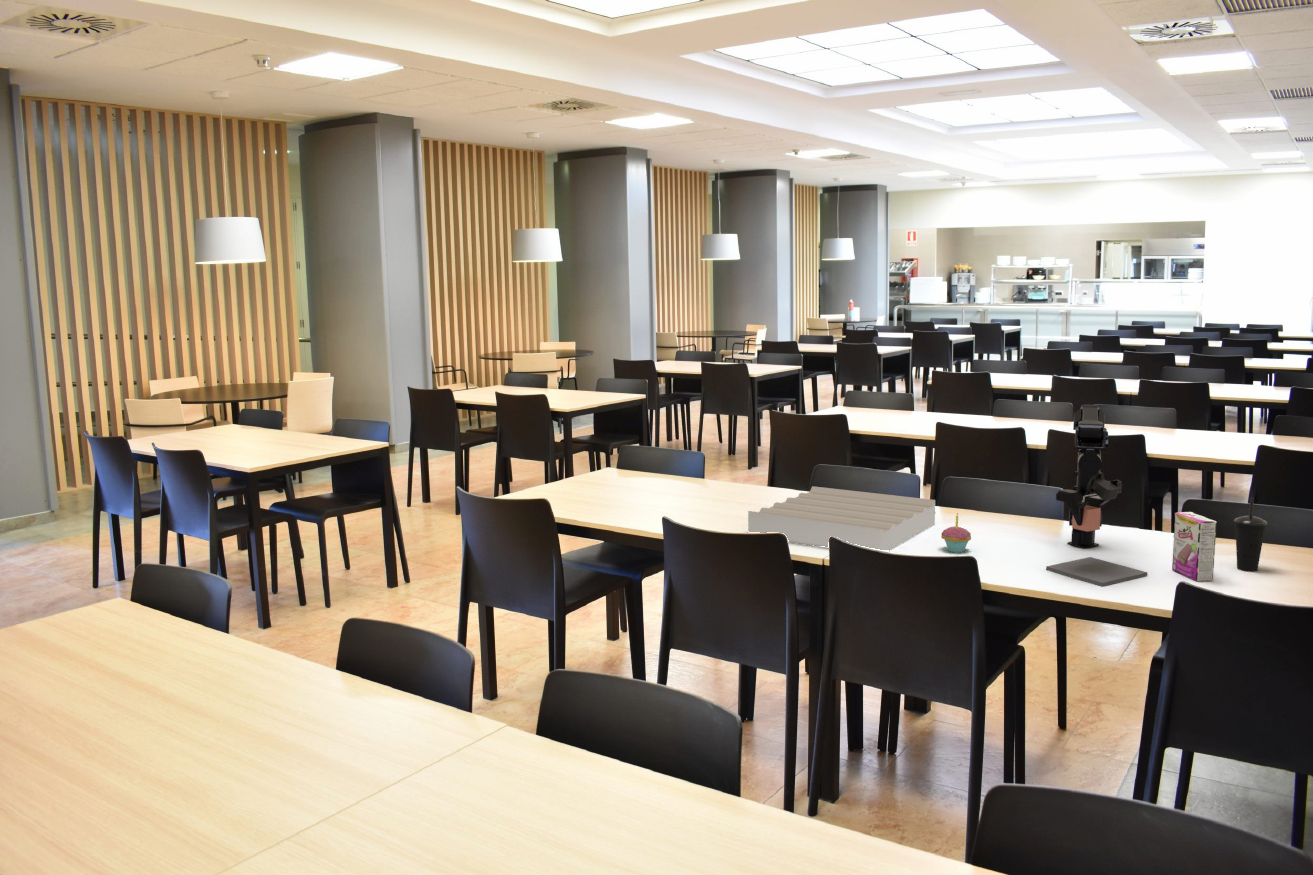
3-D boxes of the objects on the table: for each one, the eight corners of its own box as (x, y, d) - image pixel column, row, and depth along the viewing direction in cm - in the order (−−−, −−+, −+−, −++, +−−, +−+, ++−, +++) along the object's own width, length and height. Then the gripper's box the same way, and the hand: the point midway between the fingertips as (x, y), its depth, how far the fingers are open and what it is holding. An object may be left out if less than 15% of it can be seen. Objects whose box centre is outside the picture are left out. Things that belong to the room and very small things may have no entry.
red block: (1084, 525, 273) (1085, 504, 272) (1099, 529, 268) (1100, 508, 268) (1072, 527, 271) (1072, 506, 270) (1087, 531, 266) (1088, 510, 265)
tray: (812, 510, 350) (812, 486, 348) (934, 526, 324) (935, 499, 322) (748, 538, 314) (748, 510, 312) (880, 558, 288) (880, 528, 286)
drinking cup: (1224, 565, 271) (1229, 495, 268) (1250, 564, 271) (1255, 494, 268) (1243, 573, 263) (1248, 501, 260) (1270, 572, 264) (1275, 500, 261)
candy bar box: (1170, 570, 268) (1173, 511, 265) (1187, 569, 268) (1191, 511, 266) (1195, 582, 257) (1199, 521, 254) (1214, 581, 257) (1218, 520, 255)
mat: (1090, 560, 279) (1090, 556, 279) (1147, 575, 263) (1147, 572, 263) (1046, 569, 271) (1046, 566, 270) (1102, 586, 255) (1102, 582, 255)
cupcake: (972, 554, 287) (973, 514, 285) (942, 553, 289) (943, 514, 287) (968, 546, 296) (970, 508, 294) (939, 546, 297) (940, 507, 295)
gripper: (1090, 476, 256) (1087, 534, 258) (1137, 469, 264) (1134, 526, 266) (1055, 470, 266) (1053, 526, 268) (1102, 464, 274) (1099, 518, 276)
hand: (1086, 524), depth 269 cm, fingers closed on red block, 5 cm apart
